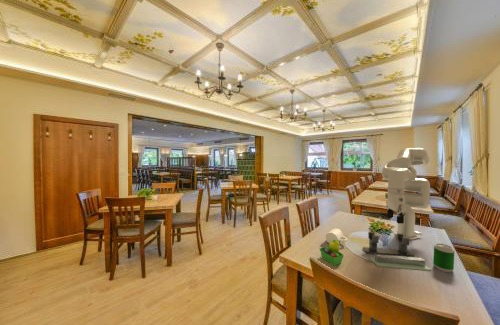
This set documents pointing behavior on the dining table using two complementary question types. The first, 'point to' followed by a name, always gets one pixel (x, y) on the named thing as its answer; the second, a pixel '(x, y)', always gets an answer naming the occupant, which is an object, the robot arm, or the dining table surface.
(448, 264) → the soda can
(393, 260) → the rail
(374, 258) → the mat
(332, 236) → the mug
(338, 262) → the fruit basket
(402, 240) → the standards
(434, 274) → the dining table surface
